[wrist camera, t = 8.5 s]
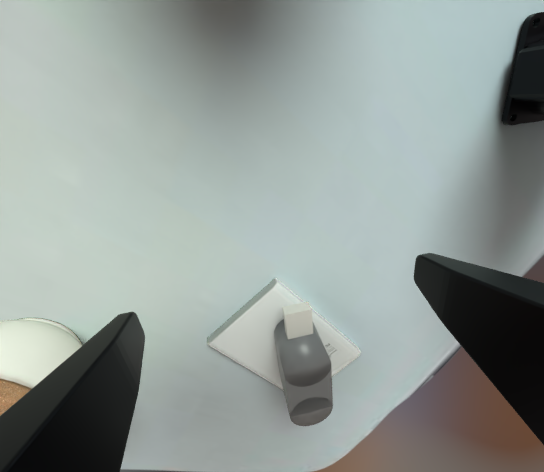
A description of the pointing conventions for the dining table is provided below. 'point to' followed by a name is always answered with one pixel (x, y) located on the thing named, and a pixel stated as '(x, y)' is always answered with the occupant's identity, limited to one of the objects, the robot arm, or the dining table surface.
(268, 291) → the external hard drive
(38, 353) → the lidded jar
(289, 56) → the dining table surface
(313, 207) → the dining table surface
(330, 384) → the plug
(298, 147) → the dining table surface
